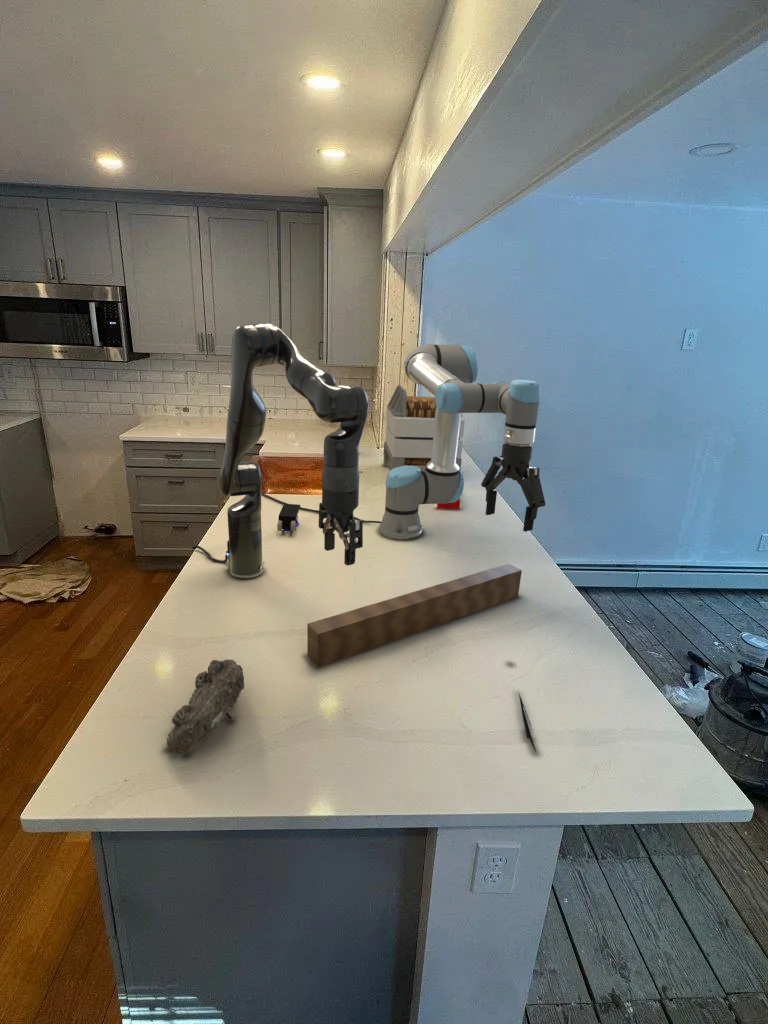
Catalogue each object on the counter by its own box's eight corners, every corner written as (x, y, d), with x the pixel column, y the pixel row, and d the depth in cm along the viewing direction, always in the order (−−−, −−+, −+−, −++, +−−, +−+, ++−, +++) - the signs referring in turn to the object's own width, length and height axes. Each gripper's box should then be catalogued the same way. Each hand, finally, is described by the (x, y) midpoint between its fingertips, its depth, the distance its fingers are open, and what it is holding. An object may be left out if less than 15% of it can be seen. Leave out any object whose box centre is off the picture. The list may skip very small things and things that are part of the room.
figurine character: (296, 541, 193) (301, 521, 206) (295, 521, 189) (301, 502, 203) (276, 540, 193) (283, 520, 206) (275, 520, 189) (282, 501, 203)
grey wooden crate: (382, 463, 289) (386, 382, 275) (445, 464, 293) (451, 384, 279) (390, 482, 257) (394, 392, 243) (460, 483, 261) (468, 394, 247)
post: (505, 590, 163) (508, 563, 160) (518, 597, 159) (521, 570, 156) (307, 656, 128) (307, 623, 125) (317, 667, 124) (318, 634, 121)
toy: (454, 466, 251) (466, 476, 222) (452, 496, 254) (463, 510, 225) (427, 466, 251) (435, 475, 222) (425, 495, 254) (433, 509, 224)
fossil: (192, 660, 117) (244, 628, 112) (224, 691, 120) (276, 661, 115) (142, 746, 98) (202, 712, 93) (182, 779, 101) (242, 748, 96)
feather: (511, 668, 129) (516, 662, 128) (535, 756, 102) (542, 749, 102) (505, 664, 129) (510, 658, 128) (527, 751, 102) (534, 744, 101)
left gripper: (307, 477, 119) (308, 548, 125) (342, 496, 108) (341, 573, 114) (338, 473, 123) (337, 542, 129) (375, 491, 112) (372, 565, 118)
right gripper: (473, 434, 150) (465, 510, 157) (547, 456, 131) (534, 540, 138) (493, 432, 154) (485, 505, 162) (568, 452, 135) (555, 535, 142)
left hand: (339, 556), depth 121 cm, fingers open, 8 cm apart
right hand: (508, 522), depth 150 cm, fingers open, 13 cm apart
